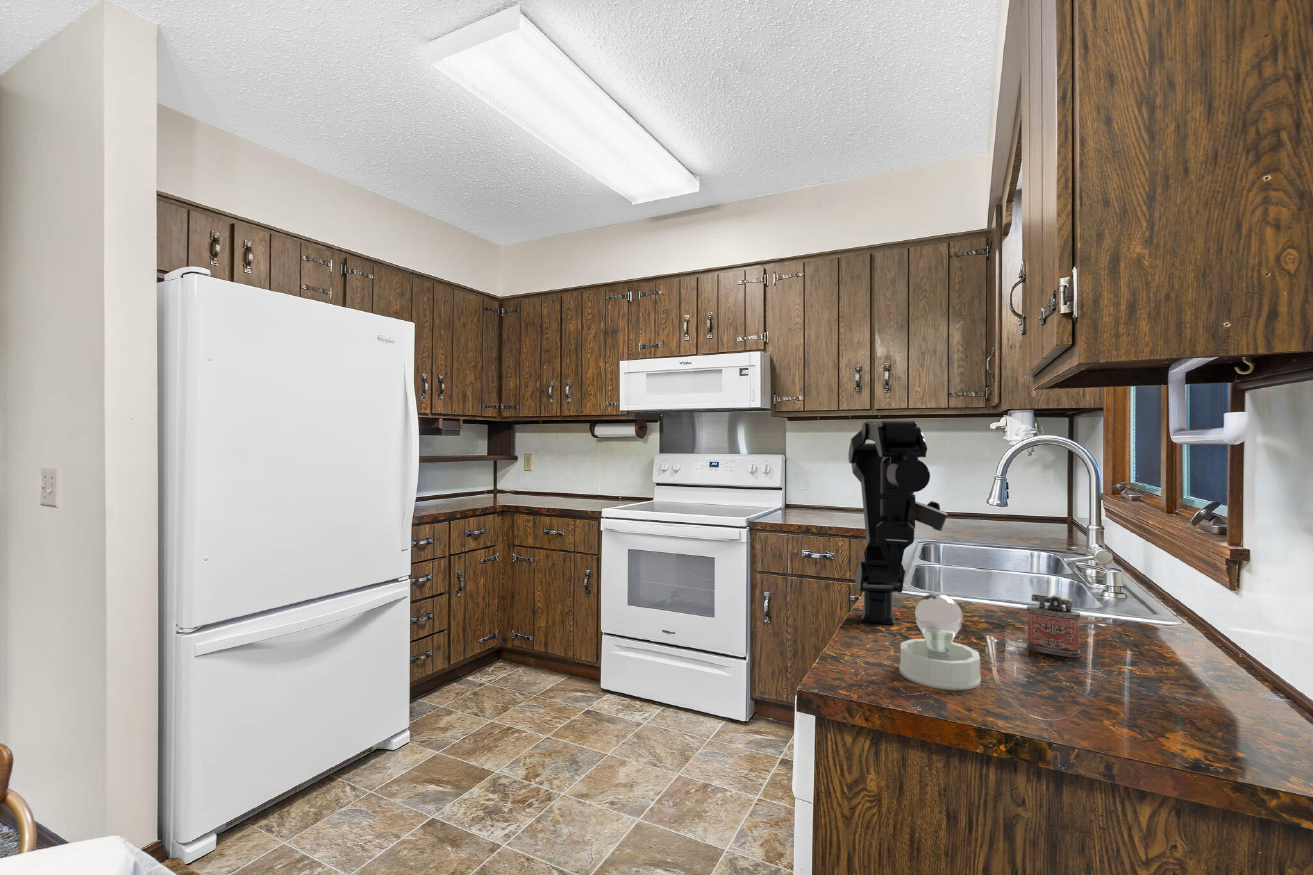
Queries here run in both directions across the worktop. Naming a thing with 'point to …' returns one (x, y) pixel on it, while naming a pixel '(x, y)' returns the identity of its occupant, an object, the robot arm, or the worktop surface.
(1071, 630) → the lighter
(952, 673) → the bulb holder
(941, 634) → the light bulb
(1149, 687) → the worktop surface
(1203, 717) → the worktop surface
